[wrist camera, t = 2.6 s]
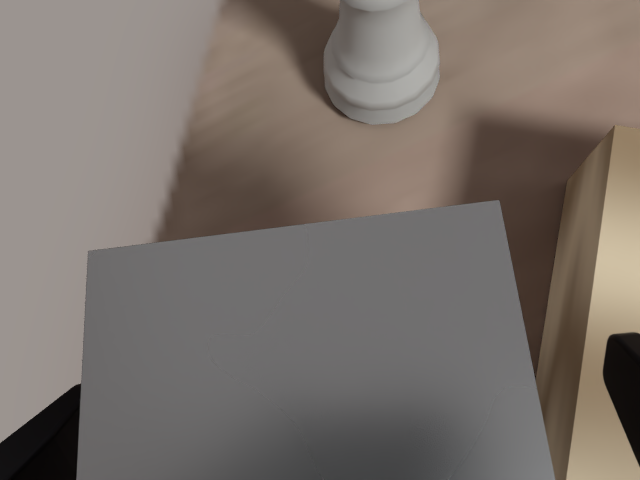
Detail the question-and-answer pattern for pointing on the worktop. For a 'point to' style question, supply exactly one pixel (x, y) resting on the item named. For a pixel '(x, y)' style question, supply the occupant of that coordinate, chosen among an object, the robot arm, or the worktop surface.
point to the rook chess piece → (381, 60)
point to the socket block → (592, 312)
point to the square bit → (313, 355)
